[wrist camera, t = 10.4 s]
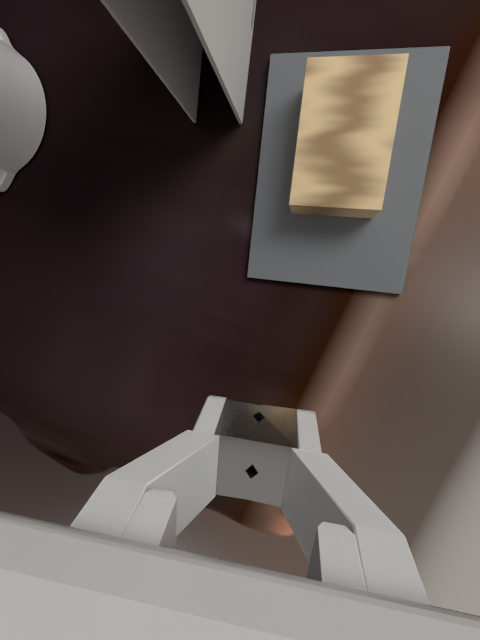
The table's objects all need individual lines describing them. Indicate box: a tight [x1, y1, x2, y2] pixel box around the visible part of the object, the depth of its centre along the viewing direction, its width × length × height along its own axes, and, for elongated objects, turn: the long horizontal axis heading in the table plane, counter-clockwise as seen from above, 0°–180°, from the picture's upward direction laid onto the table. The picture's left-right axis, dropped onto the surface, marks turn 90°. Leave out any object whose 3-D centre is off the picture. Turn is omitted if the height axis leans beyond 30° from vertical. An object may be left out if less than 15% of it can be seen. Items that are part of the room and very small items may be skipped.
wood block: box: [289, 53, 409, 218], centre depth 28 cm, size 8×4×12 cm
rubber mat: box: [247, 46, 450, 294], centre depth 30 cm, size 16×22×1 cm
